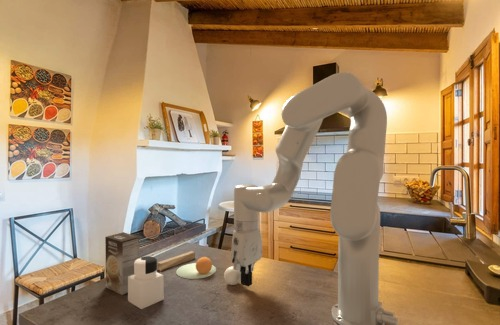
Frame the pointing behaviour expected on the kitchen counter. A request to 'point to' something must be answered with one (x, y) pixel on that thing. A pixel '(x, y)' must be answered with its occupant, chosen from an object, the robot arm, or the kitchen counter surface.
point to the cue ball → (232, 276)
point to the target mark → (193, 272)
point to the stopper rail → (175, 260)
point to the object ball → (203, 265)
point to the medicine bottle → (145, 283)
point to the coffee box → (120, 260)
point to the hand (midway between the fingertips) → (246, 284)
